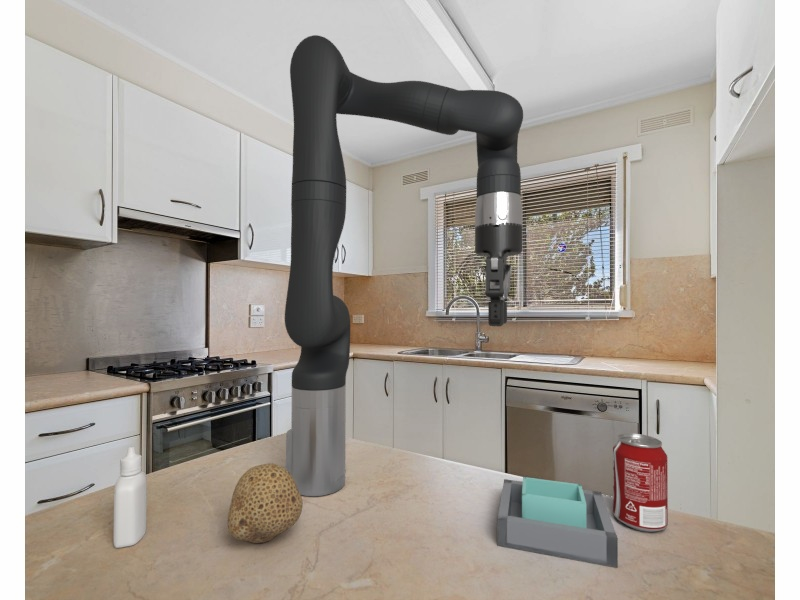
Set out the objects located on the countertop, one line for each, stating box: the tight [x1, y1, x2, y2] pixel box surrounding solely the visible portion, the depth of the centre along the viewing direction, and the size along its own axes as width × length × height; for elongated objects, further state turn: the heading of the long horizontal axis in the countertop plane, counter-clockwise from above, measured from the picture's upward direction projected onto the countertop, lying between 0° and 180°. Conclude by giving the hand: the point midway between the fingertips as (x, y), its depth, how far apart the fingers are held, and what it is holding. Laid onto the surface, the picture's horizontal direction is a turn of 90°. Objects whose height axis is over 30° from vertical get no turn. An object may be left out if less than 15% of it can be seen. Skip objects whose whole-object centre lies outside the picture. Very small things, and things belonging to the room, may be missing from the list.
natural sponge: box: [227, 462, 303, 544], centre depth 54 cm, size 9×9×10 cm
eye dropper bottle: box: [113, 446, 148, 549], centre depth 55 cm, size 4×6×12 cm
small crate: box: [522, 476, 586, 528], centre depth 57 cm, size 8×6×5 cm
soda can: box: [612, 432, 669, 533], centre depth 59 cm, size 7×7×12 cm
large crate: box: [497, 478, 619, 569], centre depth 57 cm, size 14×13×4 cm
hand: (498, 324), depth 66 cm, fingers open, 8 cm apart
